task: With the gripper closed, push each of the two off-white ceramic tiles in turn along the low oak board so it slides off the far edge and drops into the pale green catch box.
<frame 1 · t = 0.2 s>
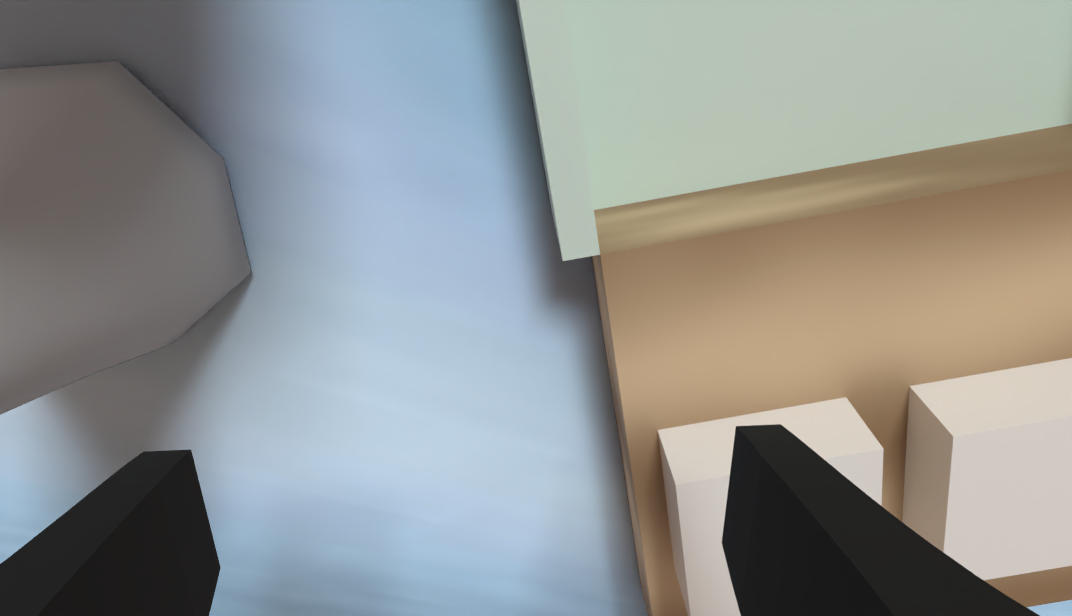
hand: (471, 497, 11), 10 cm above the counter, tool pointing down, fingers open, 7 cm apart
tile b: (995, 445, 20), point 3 cm above the counter, touching board
tile a: (755, 487, 20), point 3 cm above the counter, touching board
flask: (95, 210, 19), on the counter
catch box: (828, 161, 20), on the counter
board: (829, 384, 23), on the counter
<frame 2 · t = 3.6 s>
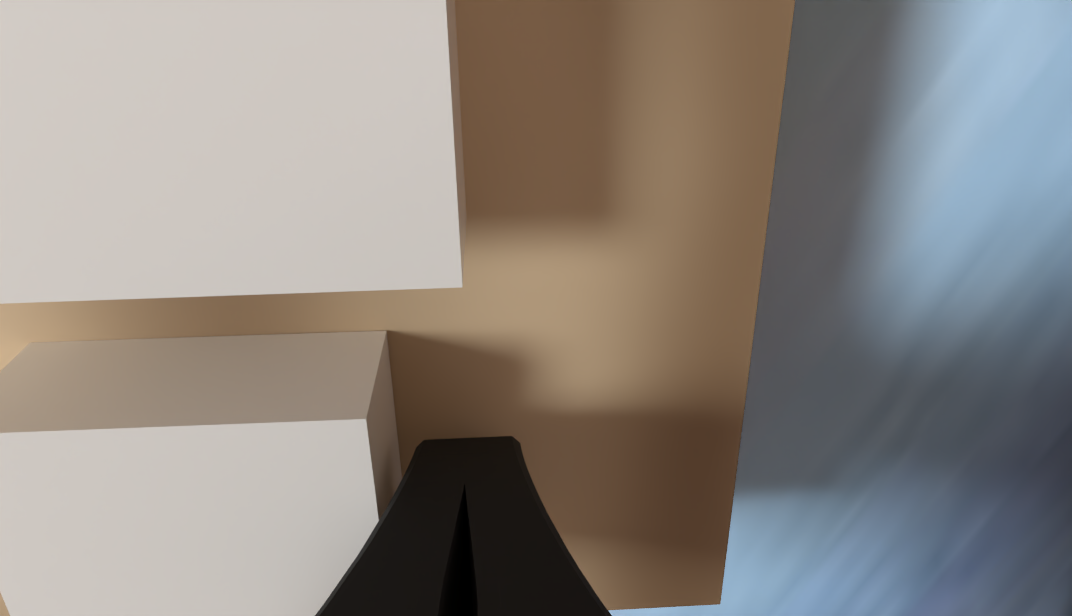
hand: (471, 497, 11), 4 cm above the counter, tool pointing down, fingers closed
tile b: (247, 27, 9), point 3 cm above the counter, touching board
tile a: (240, 476, 11), point 3 cm above the counter, touching board, gripper
board: (297, 201, 13), on the counter
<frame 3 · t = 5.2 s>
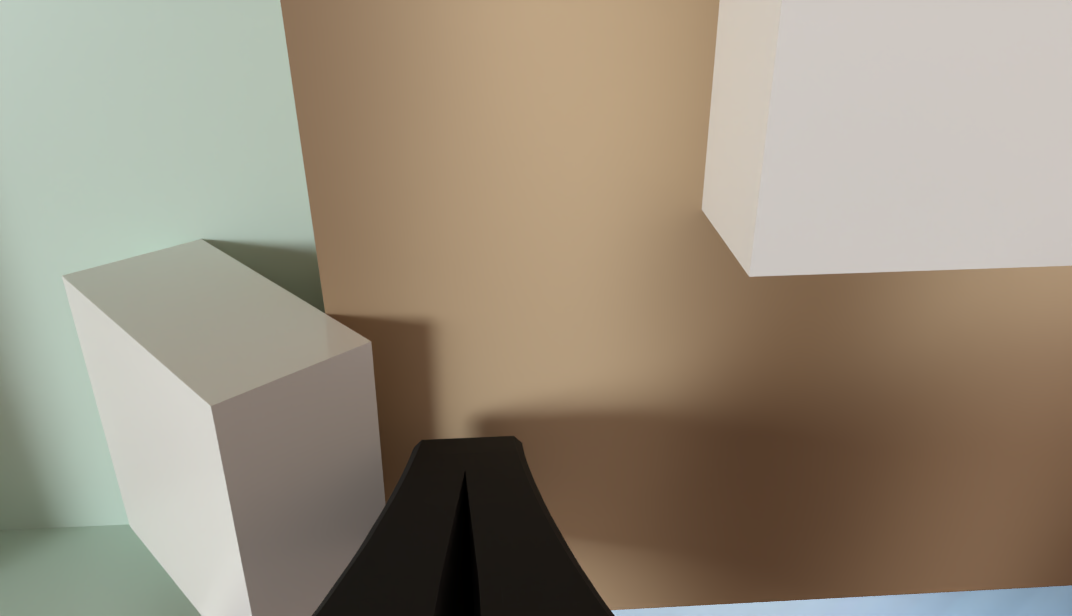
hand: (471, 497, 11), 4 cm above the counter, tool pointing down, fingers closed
tile b: (916, 13, 9), point 3 cm above the counter, touching board
tile a: (295, 420, 12), point 2 cm above the counter, tilted 48°, touching board, catch box
catch box: (354, 198, 13), on the counter
board: (760, 186, 13), on the counter
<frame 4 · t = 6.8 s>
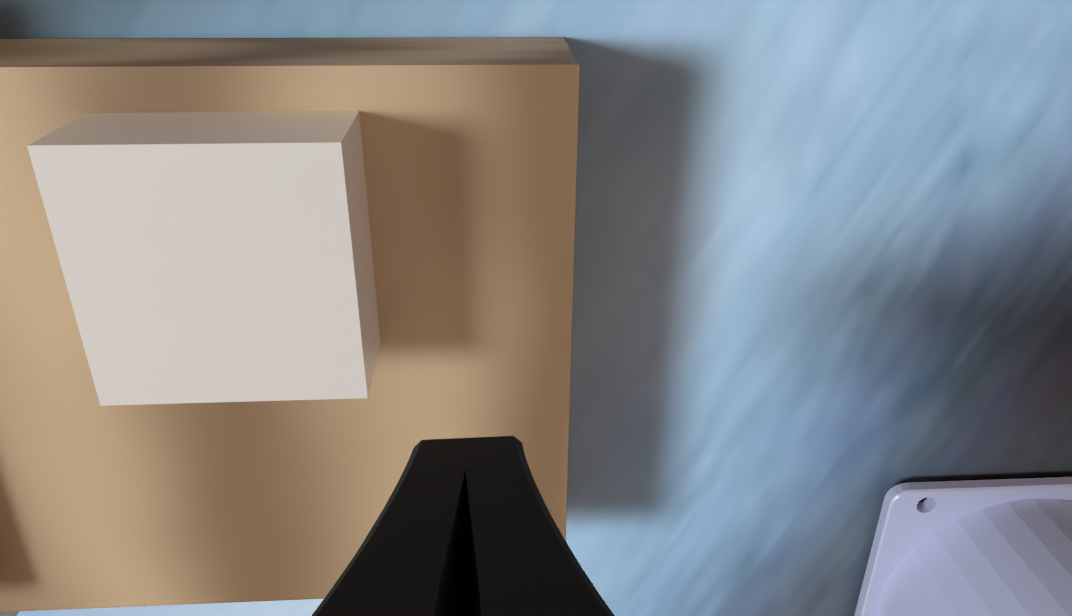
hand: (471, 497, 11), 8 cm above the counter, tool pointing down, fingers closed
tile b: (245, 236, 15), point 3 cm above the counter, touching board
board: (276, 309, 19), on the counter
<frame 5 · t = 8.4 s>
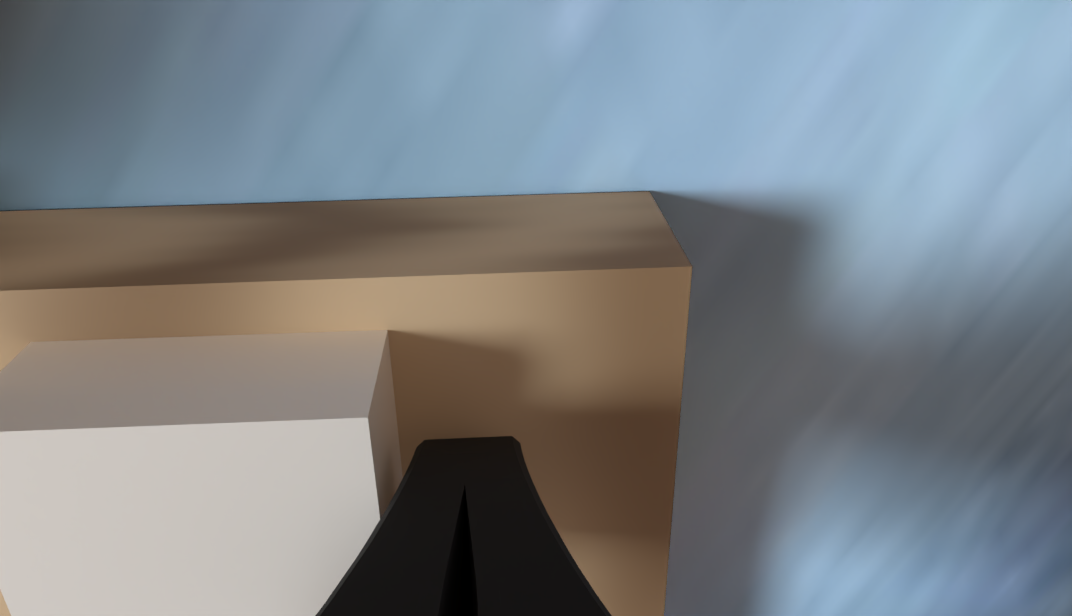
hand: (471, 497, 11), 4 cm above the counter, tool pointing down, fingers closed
tile b: (241, 475, 11), point 3 cm above the counter, touching board, gripper
board: (295, 503, 15), on the counter
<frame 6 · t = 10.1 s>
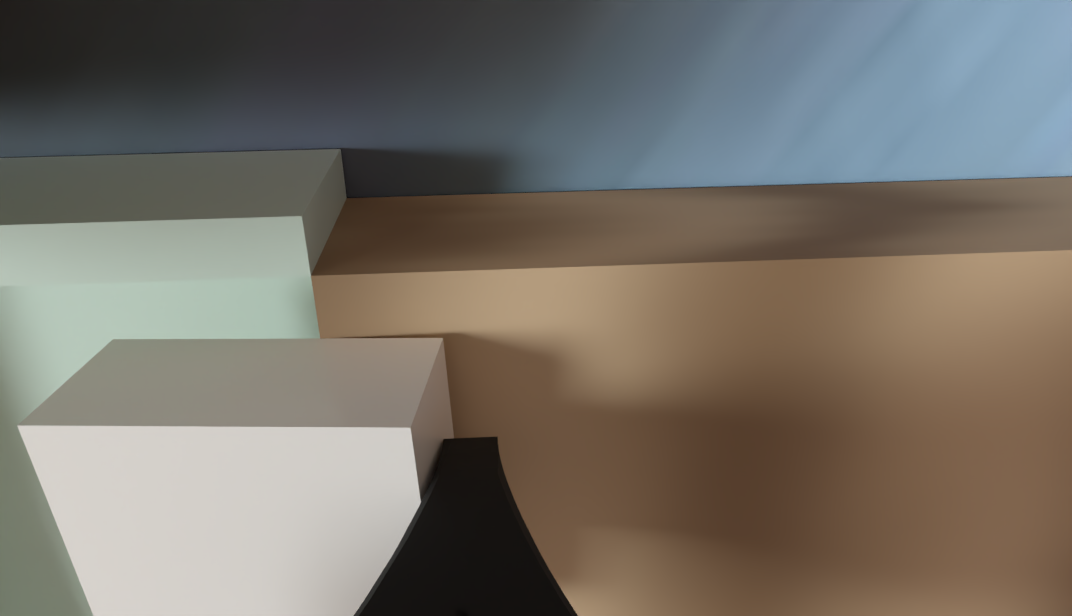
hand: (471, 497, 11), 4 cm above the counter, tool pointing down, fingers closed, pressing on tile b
tile b: (304, 474, 12), point 3 cm above the counter, tilted 7°, touching board, gripper
catch box: (383, 495, 16), on the counter
board: (716, 479, 16), on the counter
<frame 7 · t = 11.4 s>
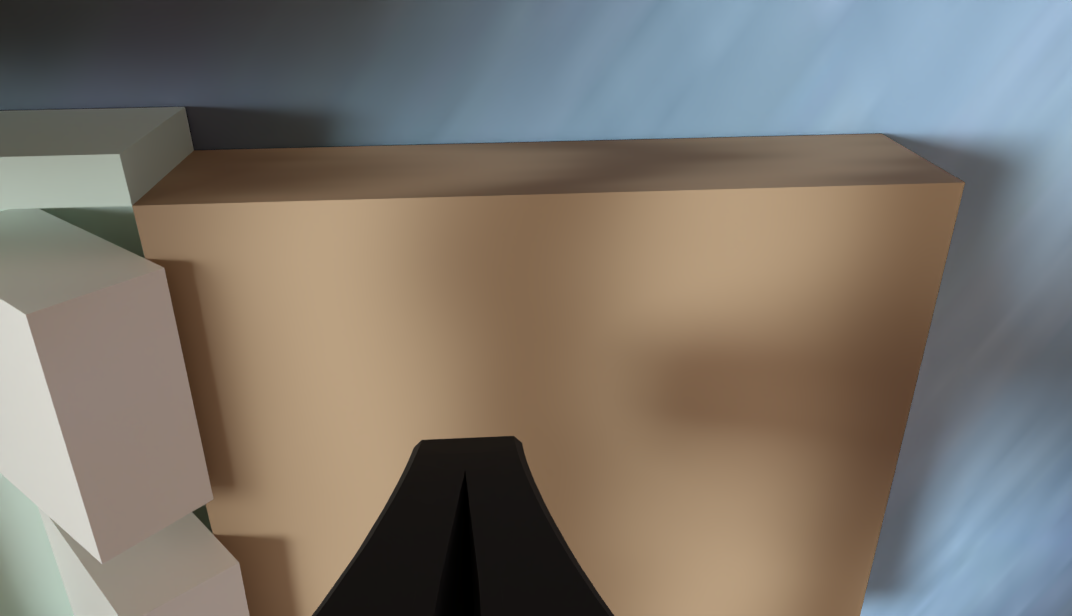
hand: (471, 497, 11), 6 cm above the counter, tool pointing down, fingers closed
tile b: (120, 349, 15), point 2 cm above the counter, tilted 41°, touching board, catch box
tile a: (202, 586, 17), point 2 cm above the counter, tilted 48°, touching board, catch box
catch box: (248, 420, 18), on the counter
board: (546, 407, 18), on the counter
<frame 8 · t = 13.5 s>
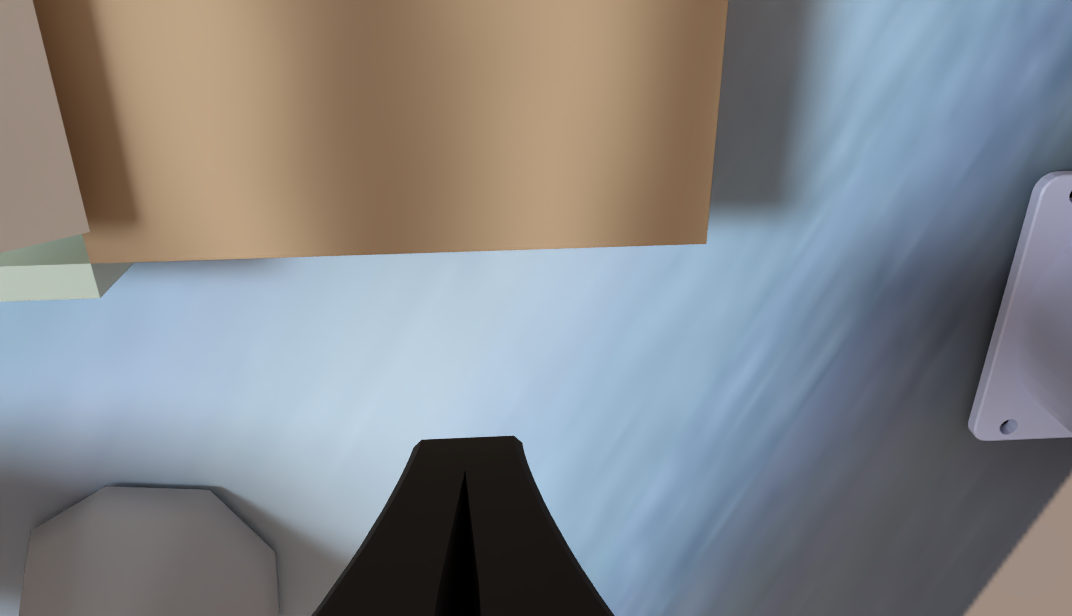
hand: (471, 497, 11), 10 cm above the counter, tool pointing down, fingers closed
tile a: (22, 96, 16), point 2 cm above the counter, tilted 48°, touching board, catch box
flask: (166, 566, 25), on the counter
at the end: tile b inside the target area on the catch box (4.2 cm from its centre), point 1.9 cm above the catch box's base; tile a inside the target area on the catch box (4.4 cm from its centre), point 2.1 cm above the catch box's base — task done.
